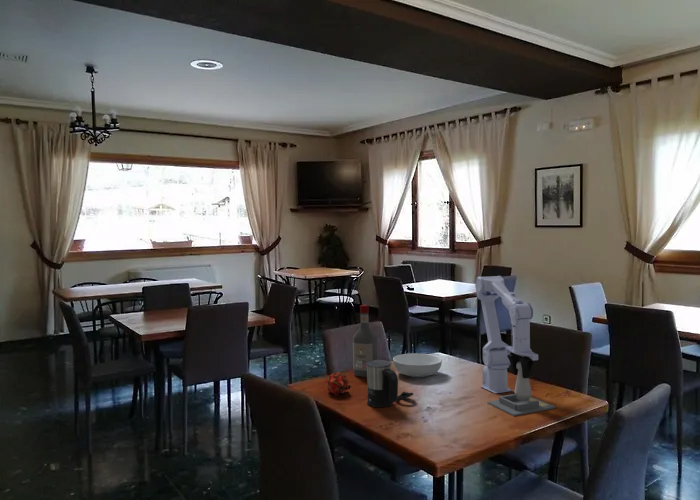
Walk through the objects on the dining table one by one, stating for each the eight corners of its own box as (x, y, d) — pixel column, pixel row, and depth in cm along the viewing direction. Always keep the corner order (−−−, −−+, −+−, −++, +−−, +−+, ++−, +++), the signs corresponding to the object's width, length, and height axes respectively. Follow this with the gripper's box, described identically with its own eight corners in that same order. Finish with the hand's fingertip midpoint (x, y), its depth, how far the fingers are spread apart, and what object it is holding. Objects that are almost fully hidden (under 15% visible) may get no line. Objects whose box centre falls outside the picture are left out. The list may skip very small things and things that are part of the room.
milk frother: (361, 404, 189) (360, 363, 188) (386, 393, 201) (385, 354, 200) (394, 412, 180) (394, 369, 179) (418, 400, 192) (417, 360, 192)
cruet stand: (487, 403, 187) (487, 396, 187) (527, 396, 194) (527, 389, 194) (513, 416, 174) (513, 408, 174) (555, 408, 181) (555, 400, 181)
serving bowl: (446, 381, 215) (445, 364, 215) (394, 382, 215) (394, 365, 215) (438, 367, 236) (437, 352, 235) (391, 368, 236) (391, 353, 236)
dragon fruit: (335, 391, 209) (343, 405, 197) (318, 381, 206) (325, 395, 195) (348, 374, 209) (356, 387, 198) (331, 364, 206) (339, 376, 195)
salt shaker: (532, 402, 181) (531, 364, 180) (514, 401, 183) (514, 364, 182) (531, 396, 187) (530, 360, 186) (514, 395, 188) (513, 360, 188)
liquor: (371, 378, 221) (369, 307, 220) (351, 375, 225) (350, 306, 224) (379, 372, 229) (378, 304, 228) (360, 370, 233) (359, 303, 232)
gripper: (545, 340, 178) (545, 380, 179) (516, 333, 192) (516, 369, 192) (528, 342, 176) (529, 382, 176) (500, 334, 189) (500, 372, 190)
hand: (521, 376), depth 184 cm, fingers closed on salt shaker, 4 cm apart
